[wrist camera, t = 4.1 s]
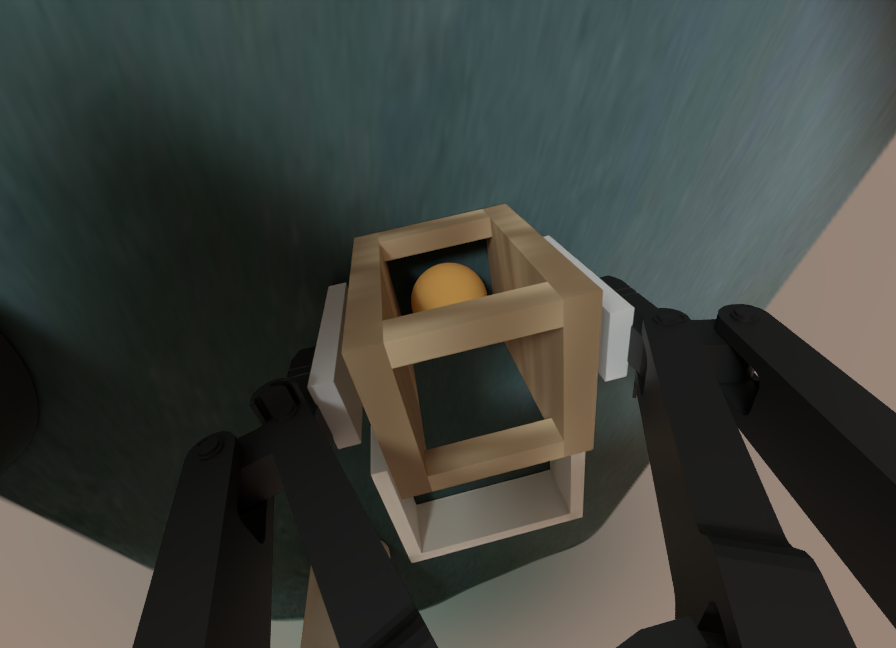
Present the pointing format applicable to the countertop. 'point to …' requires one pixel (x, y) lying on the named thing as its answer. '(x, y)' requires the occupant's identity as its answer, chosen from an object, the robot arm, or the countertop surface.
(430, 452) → the wooden cage
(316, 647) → the candle
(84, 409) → the countertop surface
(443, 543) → the white u-shaped corral
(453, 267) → the ball
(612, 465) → the countertop surface
